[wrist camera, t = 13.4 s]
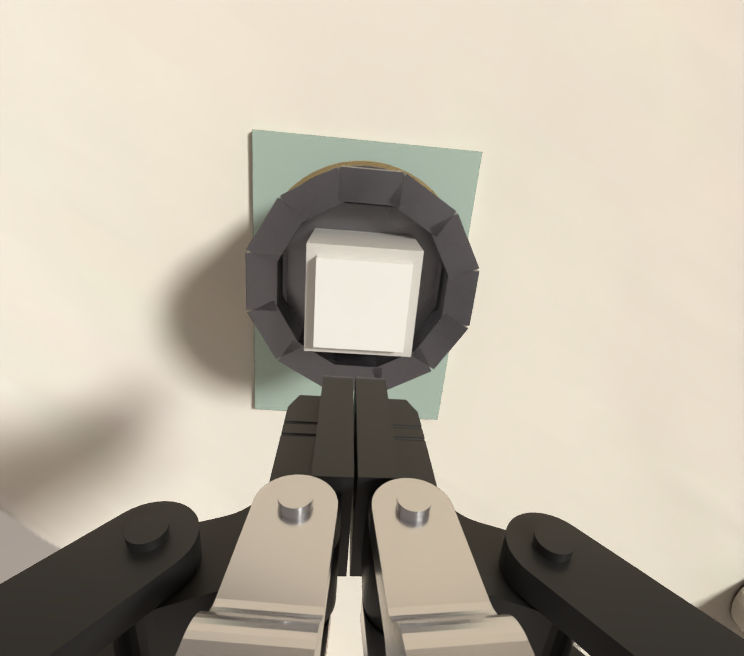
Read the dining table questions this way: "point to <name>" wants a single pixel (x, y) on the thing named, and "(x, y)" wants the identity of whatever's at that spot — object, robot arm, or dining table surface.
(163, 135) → the dining table surface
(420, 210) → the grey faceted ring
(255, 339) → the mat
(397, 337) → the white stepped cube
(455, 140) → the dining table surface
